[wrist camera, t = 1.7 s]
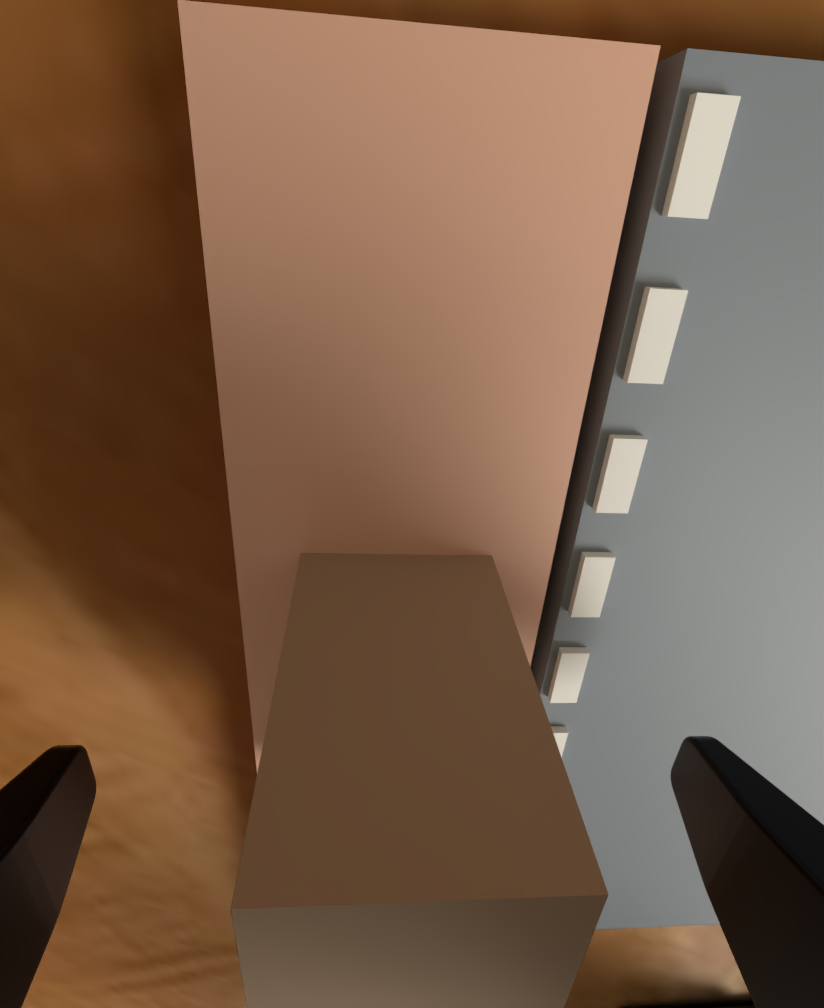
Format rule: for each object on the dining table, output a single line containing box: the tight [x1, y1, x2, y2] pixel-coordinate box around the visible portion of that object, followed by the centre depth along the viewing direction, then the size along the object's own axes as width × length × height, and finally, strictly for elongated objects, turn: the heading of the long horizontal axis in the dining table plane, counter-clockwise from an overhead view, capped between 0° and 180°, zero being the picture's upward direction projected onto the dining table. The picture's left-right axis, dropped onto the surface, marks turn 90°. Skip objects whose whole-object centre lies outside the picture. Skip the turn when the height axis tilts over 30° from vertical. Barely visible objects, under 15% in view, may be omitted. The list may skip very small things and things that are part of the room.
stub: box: [177, 0, 661, 1008], centre depth 8 cm, size 18×5×6 cm, turn 177°
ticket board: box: [530, 48, 824, 930], centre depth 11 cm, size 18×10×1 cm, turn 177°
